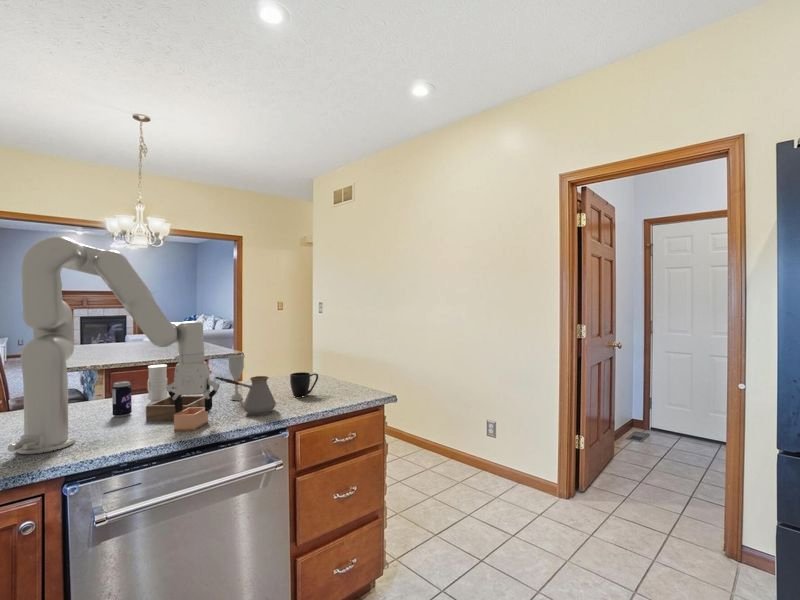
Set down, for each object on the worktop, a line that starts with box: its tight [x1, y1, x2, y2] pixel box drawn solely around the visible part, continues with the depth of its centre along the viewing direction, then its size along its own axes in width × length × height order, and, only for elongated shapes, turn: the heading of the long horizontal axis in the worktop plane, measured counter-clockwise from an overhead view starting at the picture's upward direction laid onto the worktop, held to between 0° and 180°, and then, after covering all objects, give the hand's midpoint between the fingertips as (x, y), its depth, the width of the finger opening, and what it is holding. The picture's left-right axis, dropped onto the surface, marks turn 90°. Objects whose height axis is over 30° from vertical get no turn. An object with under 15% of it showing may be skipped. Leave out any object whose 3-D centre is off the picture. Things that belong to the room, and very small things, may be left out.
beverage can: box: [111, 380, 133, 418], centre depth 147 cm, size 6×6×12 cm
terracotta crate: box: [173, 407, 209, 432], centre depth 134 cm, size 9×6×5 cm
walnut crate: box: [145, 395, 206, 421], centre depth 148 cm, size 15×15×5 cm
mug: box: [289, 371, 319, 398], centre depth 175 cm, size 8×12×10 cm
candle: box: [147, 364, 168, 405], centre depth 165 cm, size 7×7×15 cm
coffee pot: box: [213, 375, 277, 416], centre depth 146 cm, size 21×12×15 cm, turn 126°
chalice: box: [227, 354, 246, 401], centre depth 169 cm, size 7×7×18 cm
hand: (193, 410), depth 134 cm, fingers open, 9 cm apart
